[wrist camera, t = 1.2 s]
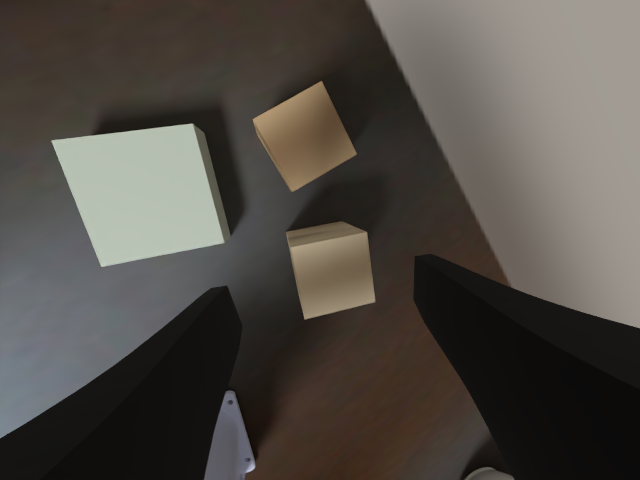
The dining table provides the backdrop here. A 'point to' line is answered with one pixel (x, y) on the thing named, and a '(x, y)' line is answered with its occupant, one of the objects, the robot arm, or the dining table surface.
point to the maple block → (331, 268)
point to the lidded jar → (488, 474)
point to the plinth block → (145, 191)
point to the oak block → (304, 136)
